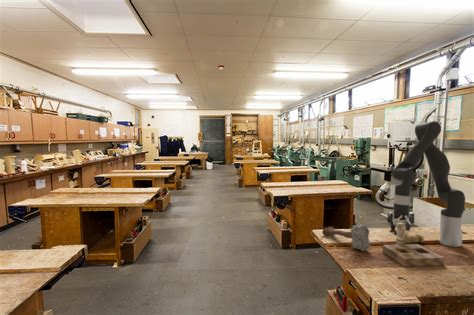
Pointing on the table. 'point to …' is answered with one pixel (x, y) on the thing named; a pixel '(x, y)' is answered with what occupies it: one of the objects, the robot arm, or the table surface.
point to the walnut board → (413, 255)
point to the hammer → (353, 235)
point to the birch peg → (400, 234)
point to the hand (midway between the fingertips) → (400, 230)
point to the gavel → (412, 238)
